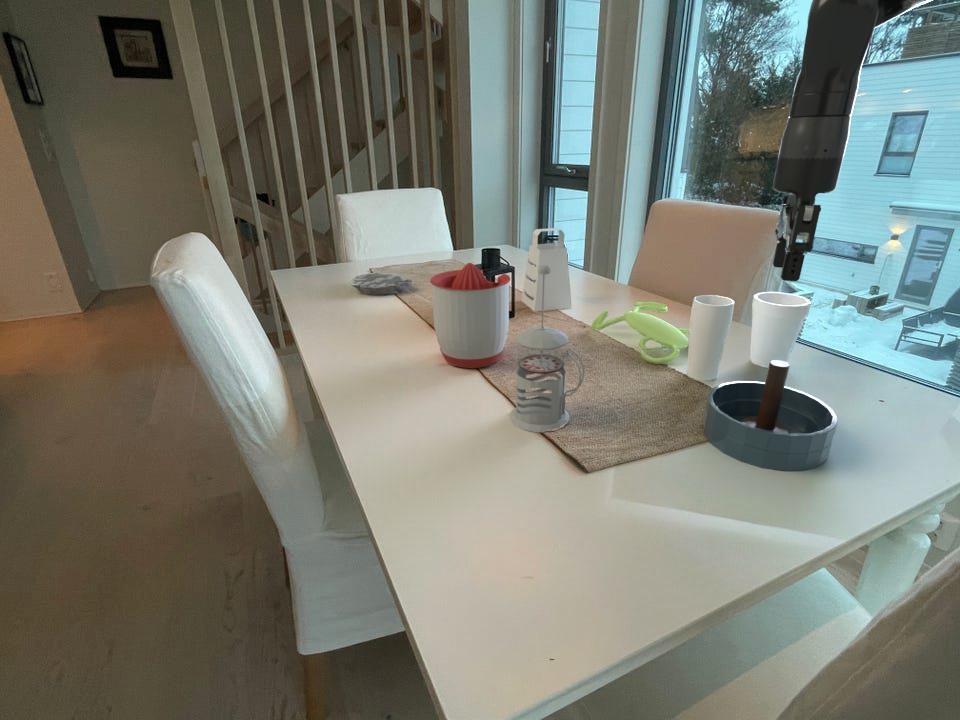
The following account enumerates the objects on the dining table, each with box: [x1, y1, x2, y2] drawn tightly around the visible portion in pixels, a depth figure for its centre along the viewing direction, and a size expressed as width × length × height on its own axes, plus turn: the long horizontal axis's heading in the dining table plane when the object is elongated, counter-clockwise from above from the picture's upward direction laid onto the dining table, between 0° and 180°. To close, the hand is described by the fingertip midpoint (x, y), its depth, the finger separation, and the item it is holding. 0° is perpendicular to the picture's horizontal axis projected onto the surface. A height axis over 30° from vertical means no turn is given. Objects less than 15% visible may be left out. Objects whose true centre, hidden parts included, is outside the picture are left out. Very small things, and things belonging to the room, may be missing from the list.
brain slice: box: [349, 271, 413, 296], centre depth 156 cm, size 20×17×3 cm
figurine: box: [590, 301, 689, 365], centre depth 113 cm, size 18×27×6 cm
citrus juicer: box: [429, 262, 511, 370], centre depth 103 cm, size 16×17×20 cm
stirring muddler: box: [742, 360, 790, 433], centre depth 73 cm, size 6×6×12 cm
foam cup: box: [749, 291, 812, 369], centre depth 99 cm, size 10×9×13 cm
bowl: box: [702, 380, 838, 472], centre depth 74 cm, size 16×16×6 cm
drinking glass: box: [685, 294, 735, 382], centre depth 93 cm, size 7×7×15 cm
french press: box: [509, 265, 586, 434], centre depth 78 cm, size 10×12×25 cm
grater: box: [520, 227, 573, 313], centre depth 136 cm, size 10×10×20 cm
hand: (784, 273), depth 75 cm, fingers open, 8 cm apart
